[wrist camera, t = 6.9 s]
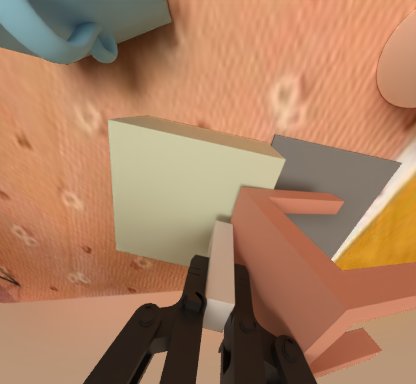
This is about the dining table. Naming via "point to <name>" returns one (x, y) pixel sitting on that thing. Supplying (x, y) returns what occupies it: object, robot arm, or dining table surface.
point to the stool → (312, 280)
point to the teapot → (77, 26)
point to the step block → (179, 184)
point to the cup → (399, 65)
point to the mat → (331, 186)
